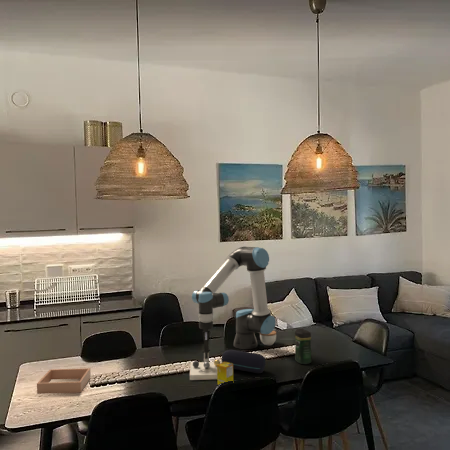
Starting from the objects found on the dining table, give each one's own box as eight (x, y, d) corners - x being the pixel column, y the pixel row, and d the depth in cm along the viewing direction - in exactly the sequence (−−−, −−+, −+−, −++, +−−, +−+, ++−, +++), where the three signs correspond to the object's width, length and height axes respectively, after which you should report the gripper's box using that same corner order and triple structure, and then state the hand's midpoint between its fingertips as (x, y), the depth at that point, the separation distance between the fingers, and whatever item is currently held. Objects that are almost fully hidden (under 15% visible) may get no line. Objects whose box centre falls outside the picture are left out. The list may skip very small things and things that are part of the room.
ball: (209, 362, 255) (209, 369, 255) (209, 361, 258) (210, 367, 258) (203, 362, 255) (203, 369, 255) (203, 361, 258) (203, 367, 258)
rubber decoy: (199, 366, 260) (198, 359, 260) (198, 368, 257) (198, 362, 257) (192, 366, 260) (192, 360, 260) (192, 368, 257) (192, 362, 256)
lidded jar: (256, 342, 311) (256, 328, 311) (271, 340, 316) (270, 326, 315) (265, 347, 301) (264, 332, 301) (279, 344, 306) (279, 330, 306)
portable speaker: (268, 371, 258) (268, 352, 258) (260, 377, 250) (260, 358, 249) (228, 364, 271) (228, 346, 270) (219, 369, 262) (219, 351, 262)
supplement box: (224, 382, 242) (224, 361, 242) (233, 385, 239) (233, 363, 238) (217, 386, 238) (216, 364, 237) (226, 388, 234) (226, 366, 234)
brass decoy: (220, 364, 262) (219, 358, 262) (220, 366, 258) (220, 360, 258) (213, 365, 262) (213, 358, 261) (213, 367, 258) (213, 360, 258)
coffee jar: (313, 363, 269) (313, 331, 268) (300, 365, 266) (300, 332, 266) (305, 358, 278) (305, 327, 277) (293, 360, 276) (292, 328, 275)
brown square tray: (90, 377, 252) (90, 368, 252) (80, 392, 232) (80, 382, 232) (50, 378, 251) (49, 369, 251) (37, 393, 231) (36, 383, 231)
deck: (190, 366, 266) (190, 362, 266) (222, 366, 267) (222, 361, 267) (189, 380, 246) (189, 375, 246) (224, 378, 247) (224, 374, 247)
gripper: (199, 318, 265) (199, 360, 266) (198, 323, 252) (199, 368, 253) (212, 317, 265) (213, 359, 266) (213, 323, 252) (213, 367, 253)
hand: (206, 363), depth 259 cm, fingers closed
